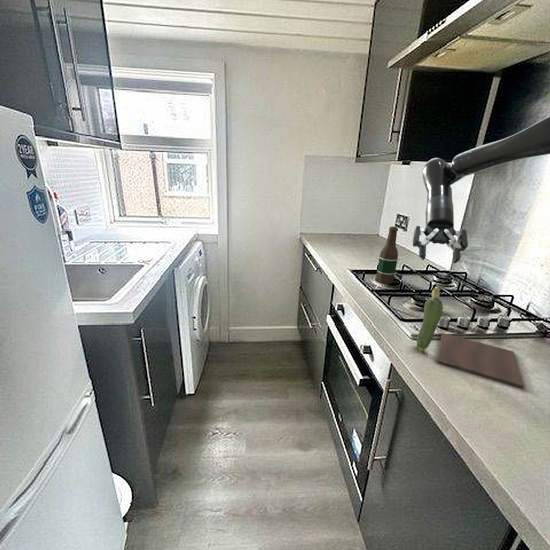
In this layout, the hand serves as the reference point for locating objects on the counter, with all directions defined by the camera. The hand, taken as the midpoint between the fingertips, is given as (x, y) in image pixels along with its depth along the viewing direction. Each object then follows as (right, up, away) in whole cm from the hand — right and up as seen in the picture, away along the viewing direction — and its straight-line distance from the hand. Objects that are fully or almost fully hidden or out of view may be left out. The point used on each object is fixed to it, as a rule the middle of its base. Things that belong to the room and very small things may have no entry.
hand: (439, 260), depth 87 cm
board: (+7, -27, -5) cm, 28 cm away
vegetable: (-6, -26, -2) cm, 26 cm away
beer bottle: (+1, -7, +46) cm, 46 cm away
